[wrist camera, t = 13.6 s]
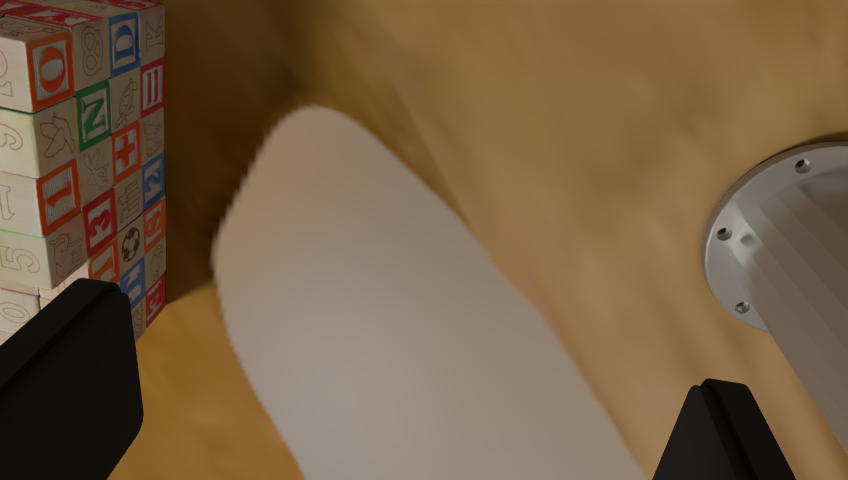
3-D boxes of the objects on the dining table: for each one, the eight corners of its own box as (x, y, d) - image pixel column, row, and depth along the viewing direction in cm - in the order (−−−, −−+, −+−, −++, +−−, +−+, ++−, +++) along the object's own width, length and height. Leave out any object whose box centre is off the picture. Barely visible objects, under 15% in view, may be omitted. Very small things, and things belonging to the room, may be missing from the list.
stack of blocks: (169, 306, 46) (68, 428, 35) (85, 288, 46) (-41, 405, 35) (166, 0, 36) (23, 41, 25) (59, -22, 36) (-130, 8, 25)
